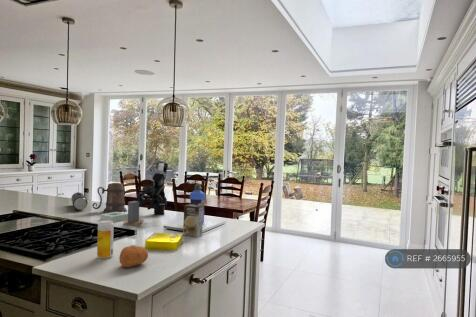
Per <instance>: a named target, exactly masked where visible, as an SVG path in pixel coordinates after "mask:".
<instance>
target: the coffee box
mask: <svg viewBox="0 0 476 317" xmlns="http://www.w3.org/2000/svg"><path fill="white" fill-rule="evenodd" d="M203 225H204V224H203V205H194V204H191V203H189V204H185V205H183V224H182V226H183V227H182V229H183V230H182V235H183V236H188V237H194V238H195V237H196V238H199V237H200V236H203Z"/></svg>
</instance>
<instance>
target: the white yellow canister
mask: <svg viewBox="0 0 476 317" xmlns="http://www.w3.org/2000/svg"><path fill="white" fill-rule="evenodd" d="M114 223H115V222H113V221H111V220H103V221H102V220H100V221H98V223H97V250H96V254H97V255H96V257H98V259H99V260H108V259H112V257H113V255H114V227H115V226H114Z"/></svg>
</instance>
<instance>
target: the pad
mask: <svg viewBox="0 0 476 317" xmlns="http://www.w3.org/2000/svg"><path fill="white" fill-rule="evenodd" d="M143 222H144V220H143V219H139V221H138V222H134V223H131V222H128V220H124V222H123V223H122V225H123V226H131V227H141V226H142V225H143Z"/></svg>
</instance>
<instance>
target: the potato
mask: <svg viewBox="0 0 476 317" xmlns="http://www.w3.org/2000/svg"><path fill="white" fill-rule="evenodd" d="M148 258H149V252H148V250H147V249H145V247H143V246H138V245H134V244H133V245H132V244H131V245H129V246H124V247H123V248H122V249H121V251H120V255H119V258H118V260H119V264H120V265H122V267H124V268H132V267H135V266H137V265H140V264H143V263H145V262H146V260H147V259H148Z"/></svg>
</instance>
